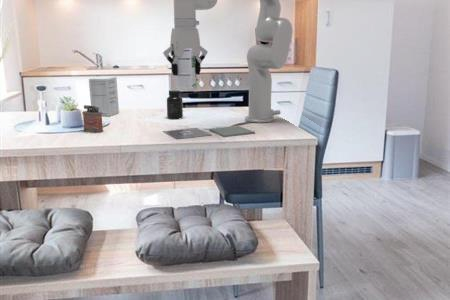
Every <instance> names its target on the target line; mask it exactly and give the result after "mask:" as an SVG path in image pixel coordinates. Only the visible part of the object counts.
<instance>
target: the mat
mask: <svg viewBox="0 0 450 300" xmlns="http://www.w3.org/2000/svg"><path fill="white" fill-rule="evenodd" d="M208 131H209V132H211V133H214V134H216V135H219V136H221V137H223V138H226V137H227V138H228V137H235V136H245V135H252V134H256V131H253V130H251V129H249V128H246V127H242V126H240V125H231V126H223V127H214V128H213V127H211V128H208Z"/></svg>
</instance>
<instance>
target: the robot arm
mask: <svg viewBox="0 0 450 300" xmlns="http://www.w3.org/2000/svg"><path fill="white" fill-rule="evenodd" d="M217 3H218V0H173V23H174V28H171V33H170V42H169V43H170V46H169V47H168V48H166V50H164V51H163V52H162V54H163V56H164V57H165V59H166V60H167V61H168V62H169V63H170V65H171V73H172V75H173V76H176V77H177V75H178V65H177V64H176V62H177V60H178V58H179V57H183V54H184V49H185V48H192V51H193V57H195V61H196V75H200V74H201V70H202V69H201V64H202V62H203V61H204V60H205V58H206V55H208V50H207V49H206V48H204V47H203V46H201V40H200V35H199V34H200V33H199V30H198V28H197V26H199V25H200V21H199V20H197V19H196V17H197V16H196V13H197V12H196V11H203V10H204V11H205V10H211V9H212V8H214V7H215V6H216V4H217ZM259 7H260V8H259V14H258V18H257V23H256V28H255V37H256V39H257V40H258V41H260V42H264V43H272V44H259V43H258V44H254V45H252V46H250V48H249V49H248V50H247V54H246V63H247V66H248V67H247V68H248V115H246V116H245V117H244V121H246V122H250V123H271V122H274V121H275V117H274V116H277V115H278V116H279V115H281V110H278V109H277V110H274V109H272V84H273V83H272V82H273V78H272V74H271V72H270V70H280V69H282V68H283V67H285V65H286V63H287V62H288V61H287V60H288V58H289V57H288V56H289V51H290V47H291V42H292V40H293V39H292V38H293V25H292V22H291V21H290V20H289V19H287V18H285V17H280V16H281V10H282V7H281V2H280V0H259Z"/></svg>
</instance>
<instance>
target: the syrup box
mask: <svg viewBox="0 0 450 300" xmlns="http://www.w3.org/2000/svg"><path fill="white" fill-rule="evenodd" d="M176 64H177V65H178V75H177V76H176V86H177V89H176V90H194V89H197V74H196V61H195V57H193V51H192V48H185V49H184V54H183V57H179V58H178V60H177V62H176Z"/></svg>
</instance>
